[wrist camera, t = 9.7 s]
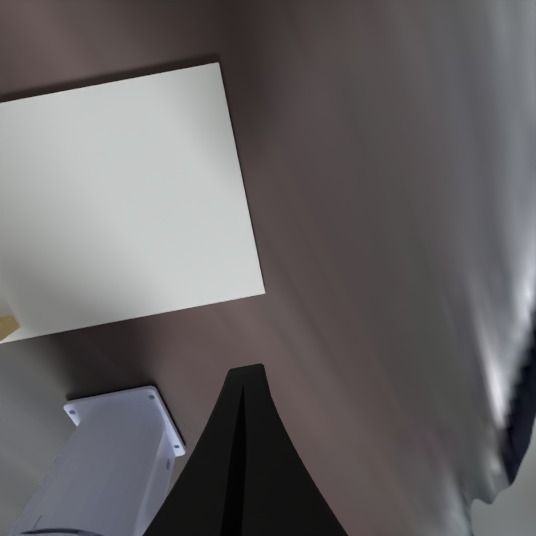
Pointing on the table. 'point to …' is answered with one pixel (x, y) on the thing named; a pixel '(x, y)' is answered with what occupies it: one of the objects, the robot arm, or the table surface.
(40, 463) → the table surface
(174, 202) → the board
